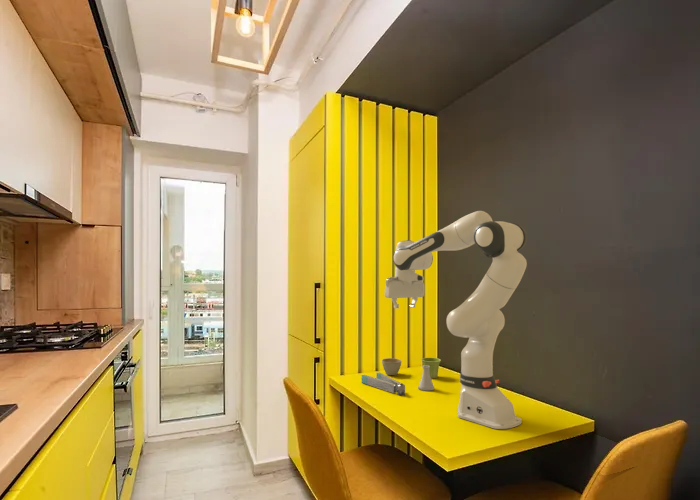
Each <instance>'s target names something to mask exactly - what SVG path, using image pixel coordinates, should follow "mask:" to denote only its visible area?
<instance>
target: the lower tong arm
mask: <svg viewBox="0 0 700 500" xmlns="http://www.w3.org/2000/svg"><path fill="white" fill-rule="evenodd" d="M376 378H377V379H380V380H383V381H387V382H390V383H393V384H396V392H397V385H398V384H400V383H401V382H399V381H398V380H396V379H394V378H391V377H390V376H389V375H387V374H384V373H382V372H376Z"/></svg>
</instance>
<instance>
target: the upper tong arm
mask: <svg viewBox="0 0 700 500" xmlns="http://www.w3.org/2000/svg"><path fill="white" fill-rule="evenodd" d="M361 384H364V385H367V386H370V387H374V388H377V389H380V390H383V391H386V392H389V393H392V394H396V393H397V391H396V384H393V383H390V382H387V381H383V380H380V379H377V377H376V378H375V377H374V376H370V375H366V374H361Z"/></svg>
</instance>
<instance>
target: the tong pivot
mask: <svg viewBox="0 0 700 500" xmlns="http://www.w3.org/2000/svg"><path fill="white" fill-rule="evenodd" d="M396 393H397V396H401V397H402V396H405V395H406V384H405V383H402V382H400V384H398V385H397V391H396Z"/></svg>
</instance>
